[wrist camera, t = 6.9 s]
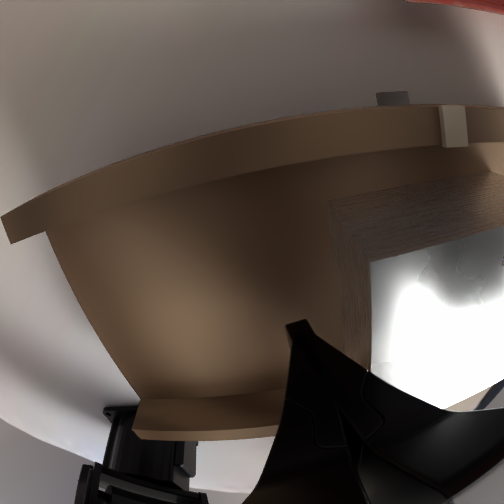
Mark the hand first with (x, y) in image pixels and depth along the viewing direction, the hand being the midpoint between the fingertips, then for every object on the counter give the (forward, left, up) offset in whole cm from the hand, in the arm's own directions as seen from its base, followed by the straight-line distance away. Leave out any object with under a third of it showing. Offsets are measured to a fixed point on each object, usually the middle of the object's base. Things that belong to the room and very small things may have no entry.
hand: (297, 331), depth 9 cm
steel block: (+5, 0, -1) cm, 5 cm away
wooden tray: (+5, 0, -3) cm, 6 cm away
